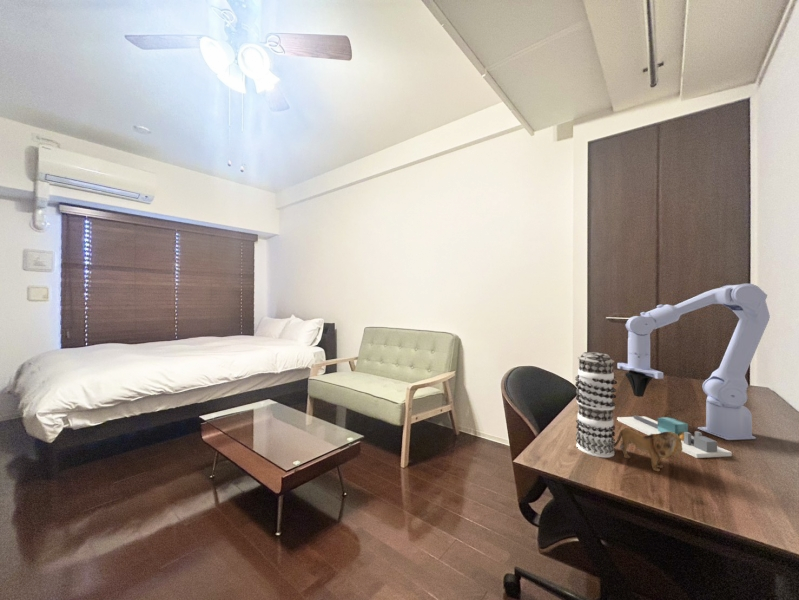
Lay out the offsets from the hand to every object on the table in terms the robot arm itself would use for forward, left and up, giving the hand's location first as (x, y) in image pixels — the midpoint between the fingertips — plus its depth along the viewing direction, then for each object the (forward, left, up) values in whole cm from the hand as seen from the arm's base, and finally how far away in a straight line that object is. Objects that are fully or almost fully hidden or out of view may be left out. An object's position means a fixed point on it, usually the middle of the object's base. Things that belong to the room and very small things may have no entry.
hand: (638, 395), depth 98 cm
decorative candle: (+28, +15, -9) cm, 33 cm away
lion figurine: (+20, +22, -9) cm, 31 cm away
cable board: (+1, +10, -8) cm, 13 cm away
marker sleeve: (+1, +11, -7) cm, 14 cm away
